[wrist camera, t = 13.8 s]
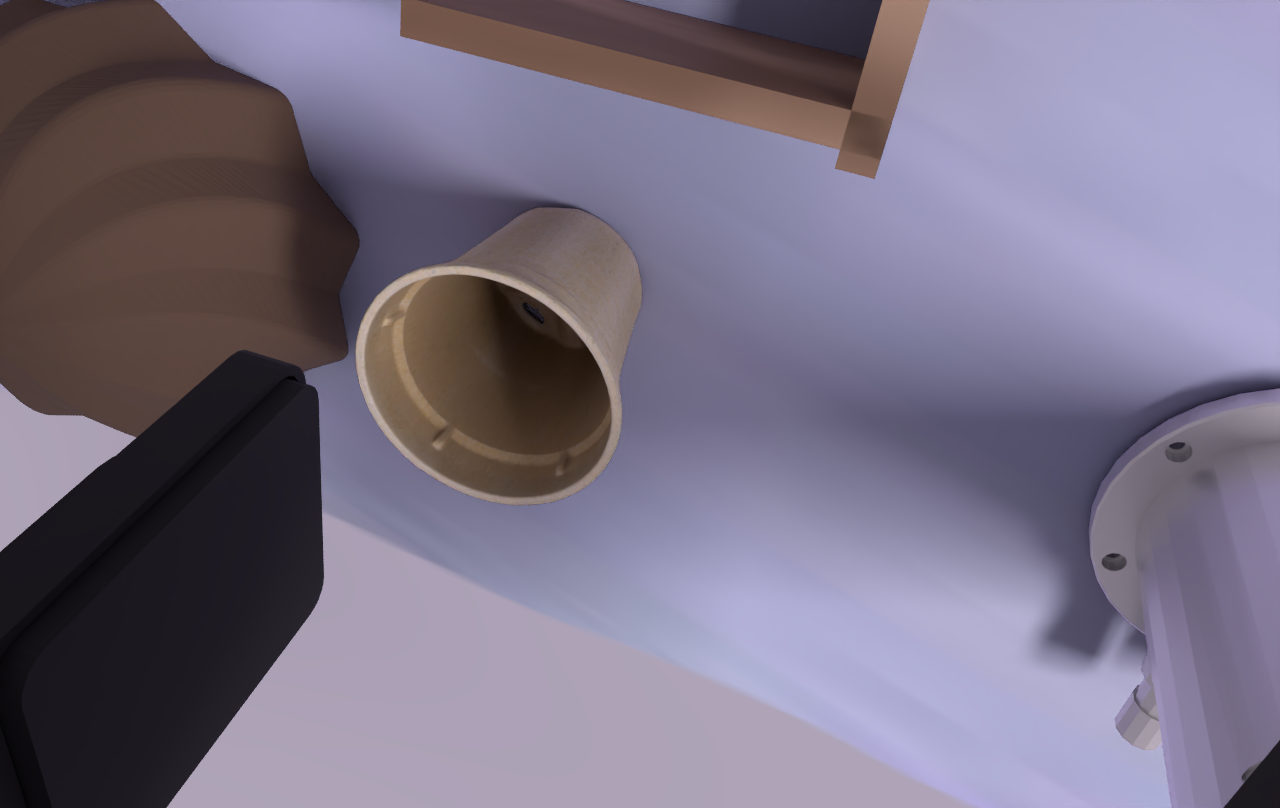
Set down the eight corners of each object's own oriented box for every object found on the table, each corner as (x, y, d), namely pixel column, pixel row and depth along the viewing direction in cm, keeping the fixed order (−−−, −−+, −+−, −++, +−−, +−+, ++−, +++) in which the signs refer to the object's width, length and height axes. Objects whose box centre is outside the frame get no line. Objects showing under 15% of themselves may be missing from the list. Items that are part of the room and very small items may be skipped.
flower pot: (646, 412, 45) (581, 545, 38) (441, 328, 45) (340, 444, 39) (716, 220, 39) (654, 336, 32) (481, 127, 40) (371, 221, 33)
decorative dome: (-20, 313, 53) (-201, 425, 45) (-62, -95, 41) (-318, -41, 33) (331, 468, 52) (210, 610, 44) (393, 97, 40) (241, 200, 32)
